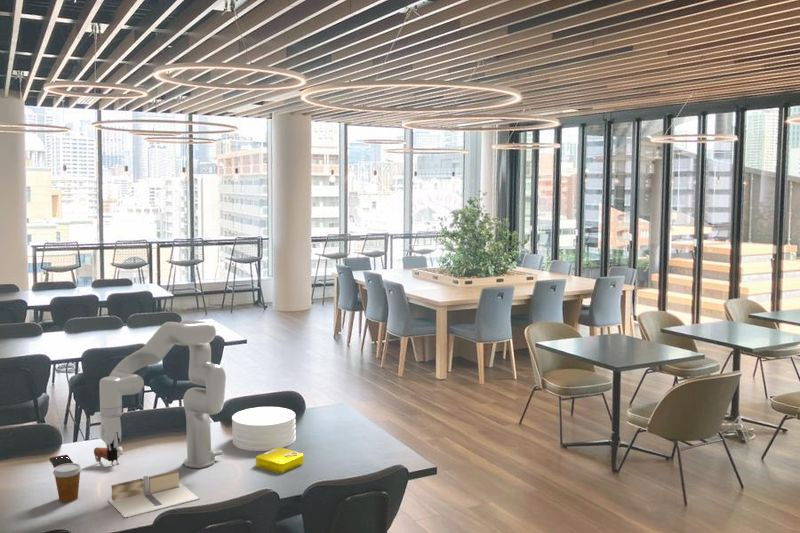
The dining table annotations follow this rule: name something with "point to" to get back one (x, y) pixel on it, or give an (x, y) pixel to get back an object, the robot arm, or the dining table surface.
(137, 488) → the fence panel
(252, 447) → the plate stack
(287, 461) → the element tile
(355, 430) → the dining table surface
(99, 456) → the bull figurine
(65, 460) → the smartphone
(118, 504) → the card
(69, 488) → the disposable coffee cup
